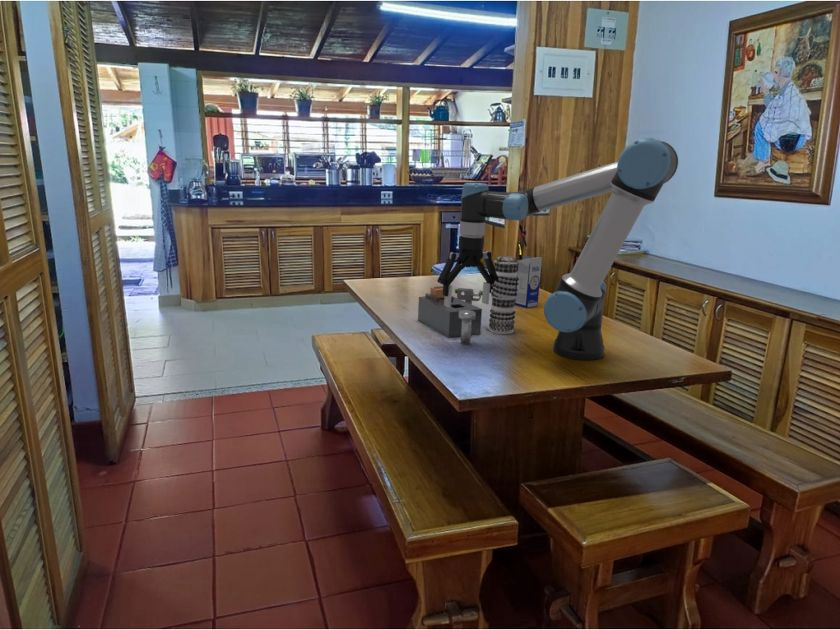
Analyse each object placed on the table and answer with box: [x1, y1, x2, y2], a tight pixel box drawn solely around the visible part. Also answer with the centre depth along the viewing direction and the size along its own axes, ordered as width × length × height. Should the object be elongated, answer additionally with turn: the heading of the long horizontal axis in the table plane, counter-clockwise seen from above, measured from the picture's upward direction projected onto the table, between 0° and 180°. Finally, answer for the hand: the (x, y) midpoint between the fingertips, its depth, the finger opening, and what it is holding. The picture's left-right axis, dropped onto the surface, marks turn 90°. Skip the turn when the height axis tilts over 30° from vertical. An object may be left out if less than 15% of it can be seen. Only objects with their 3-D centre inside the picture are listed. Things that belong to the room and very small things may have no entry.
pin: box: [458, 310, 476, 346], centre depth 181 cm, size 5×5×10 cm
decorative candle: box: [488, 255, 519, 335], centre depth 194 cm, size 9×9×25 cm
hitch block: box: [417, 293, 483, 339], centre depth 198 cm, size 22×12×10 cm, turn 27°
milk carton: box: [514, 255, 543, 309], centre depth 231 cm, size 7×7×20 cm
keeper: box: [429, 285, 445, 298], centre depth 204 cm, size 4×4×4 cm
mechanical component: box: [454, 287, 483, 305], centre depth 213 cm, size 3×10×10 cm, turn 78°
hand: (466, 305), depth 179 cm, fingers open, 13 cm apart
